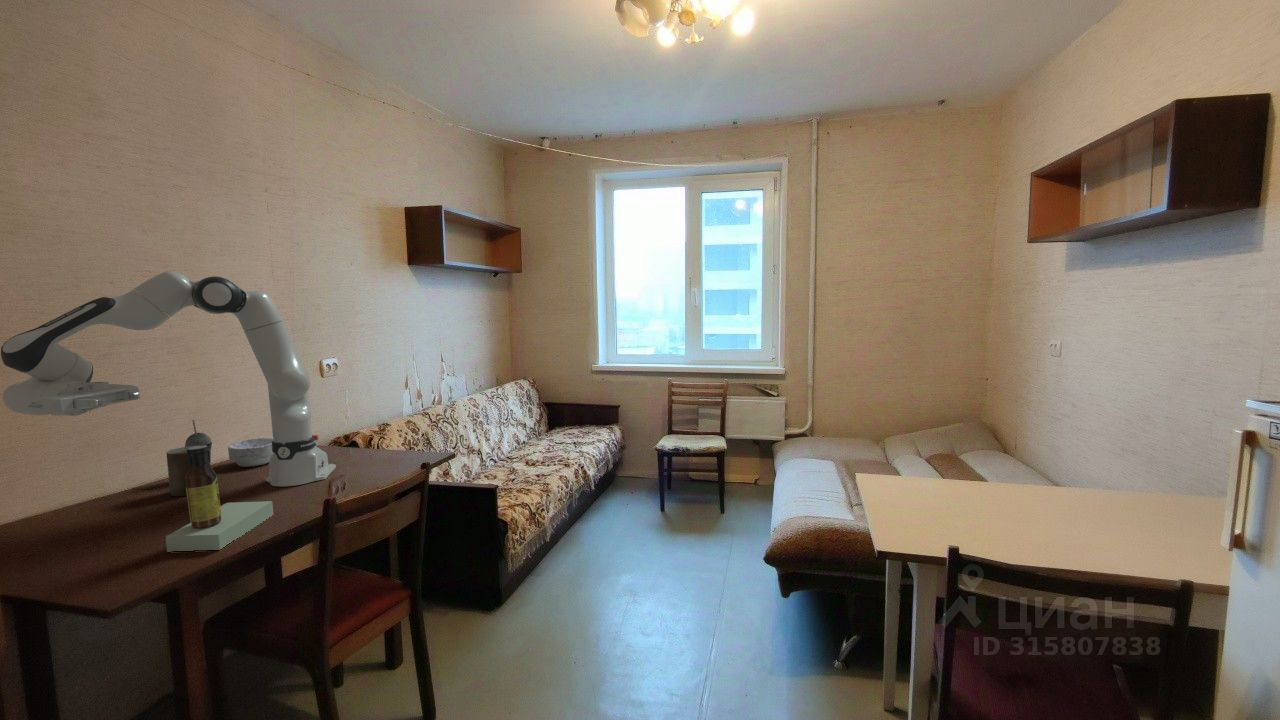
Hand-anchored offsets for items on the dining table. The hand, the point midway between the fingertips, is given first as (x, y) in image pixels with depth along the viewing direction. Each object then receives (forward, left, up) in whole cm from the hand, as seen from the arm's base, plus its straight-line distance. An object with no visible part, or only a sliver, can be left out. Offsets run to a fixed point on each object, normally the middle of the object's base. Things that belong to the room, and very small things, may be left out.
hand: (118, 399), depth 140 cm
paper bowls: (-60, -5, -35) cm, 70 cm away
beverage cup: (-44, -13, -35) cm, 58 cm away
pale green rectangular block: (+4, +25, -35) cm, 43 cm away
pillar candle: (-30, -7, -35) cm, 47 cm away
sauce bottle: (+8, +24, -31) cm, 40 cm away
